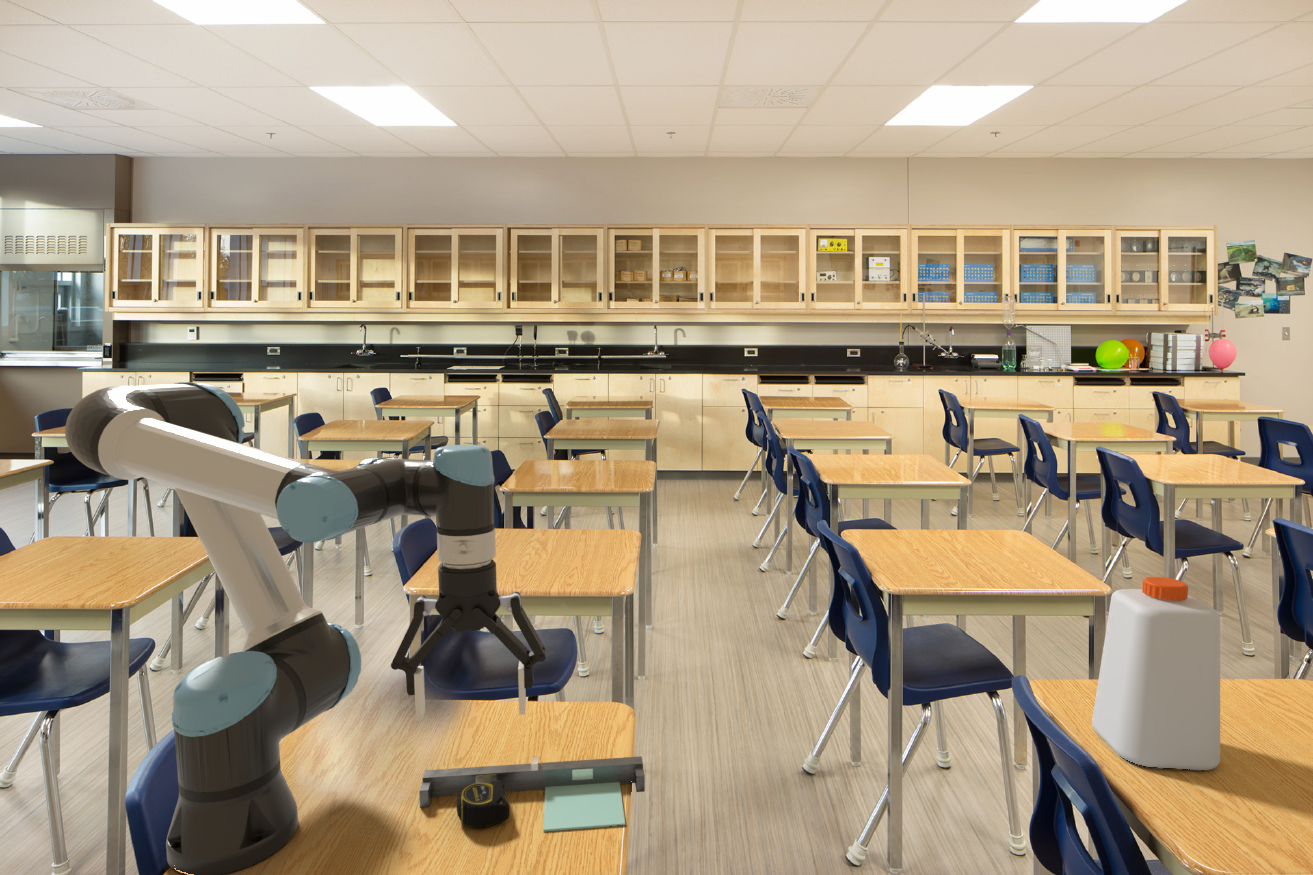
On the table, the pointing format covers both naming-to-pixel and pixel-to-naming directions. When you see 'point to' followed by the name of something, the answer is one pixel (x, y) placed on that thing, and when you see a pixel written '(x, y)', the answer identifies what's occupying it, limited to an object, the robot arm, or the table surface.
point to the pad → (583, 806)
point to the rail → (534, 776)
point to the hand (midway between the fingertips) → (472, 713)
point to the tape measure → (483, 804)
